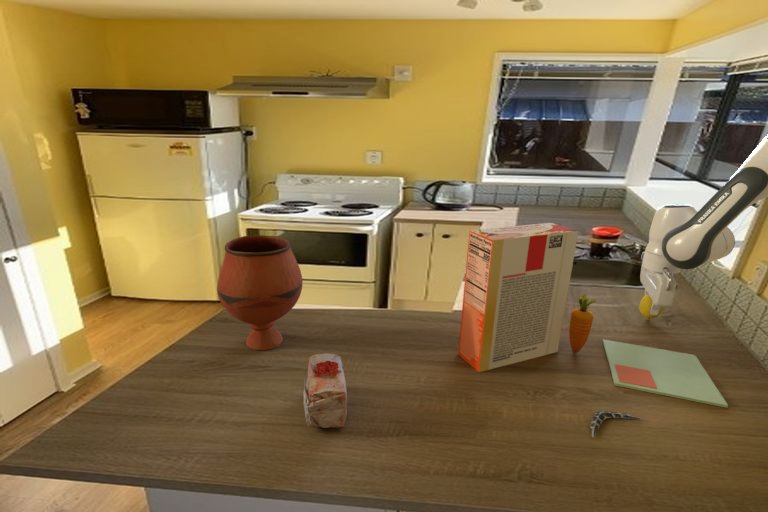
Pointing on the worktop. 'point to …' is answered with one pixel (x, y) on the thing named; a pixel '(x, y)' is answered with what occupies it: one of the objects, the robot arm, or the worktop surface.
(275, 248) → the goblet
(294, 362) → the worktop surface
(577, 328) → the carrot
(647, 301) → the lemon
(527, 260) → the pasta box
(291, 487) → the worktop surface
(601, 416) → the patterned boomerang
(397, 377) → the worktop surface
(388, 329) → the worktop surface
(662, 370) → the mat
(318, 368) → the food item
